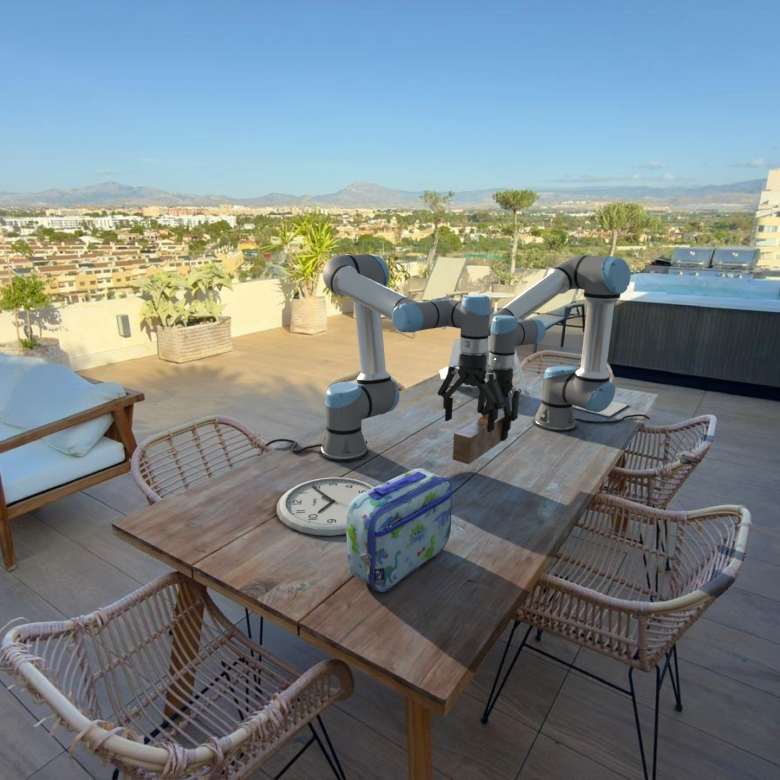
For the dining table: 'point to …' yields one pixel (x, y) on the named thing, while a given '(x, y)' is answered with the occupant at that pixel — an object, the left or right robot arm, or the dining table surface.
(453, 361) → the white plastic object
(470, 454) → the bar
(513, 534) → the dining table surface
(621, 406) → the invitation card
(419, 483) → the lunch box
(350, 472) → the dining table surface
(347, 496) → the wall clock
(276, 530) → the dining table surface
